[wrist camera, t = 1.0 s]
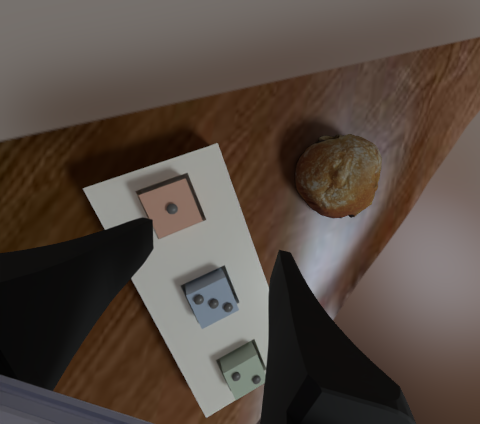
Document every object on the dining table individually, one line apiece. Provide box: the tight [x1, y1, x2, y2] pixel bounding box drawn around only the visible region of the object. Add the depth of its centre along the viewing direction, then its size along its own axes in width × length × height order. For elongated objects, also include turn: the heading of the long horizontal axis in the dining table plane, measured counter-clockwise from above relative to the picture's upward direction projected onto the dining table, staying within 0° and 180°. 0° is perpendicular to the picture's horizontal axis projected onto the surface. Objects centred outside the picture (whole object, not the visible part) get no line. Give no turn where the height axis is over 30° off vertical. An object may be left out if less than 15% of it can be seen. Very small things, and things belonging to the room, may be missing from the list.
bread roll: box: [295, 134, 382, 218], centre depth 25 cm, size 10×10×8 cm
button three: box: [185, 267, 239, 329], centre depth 22 cm, size 4×4×3 cm
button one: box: [139, 178, 203, 239], centre depth 19 cm, size 4×4×3 cm
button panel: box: [83, 143, 269, 418], centre depth 24 cm, size 12×28×3 cm, turn 19°
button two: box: [220, 341, 265, 400], centre depth 24 cm, size 4×4×3 cm
